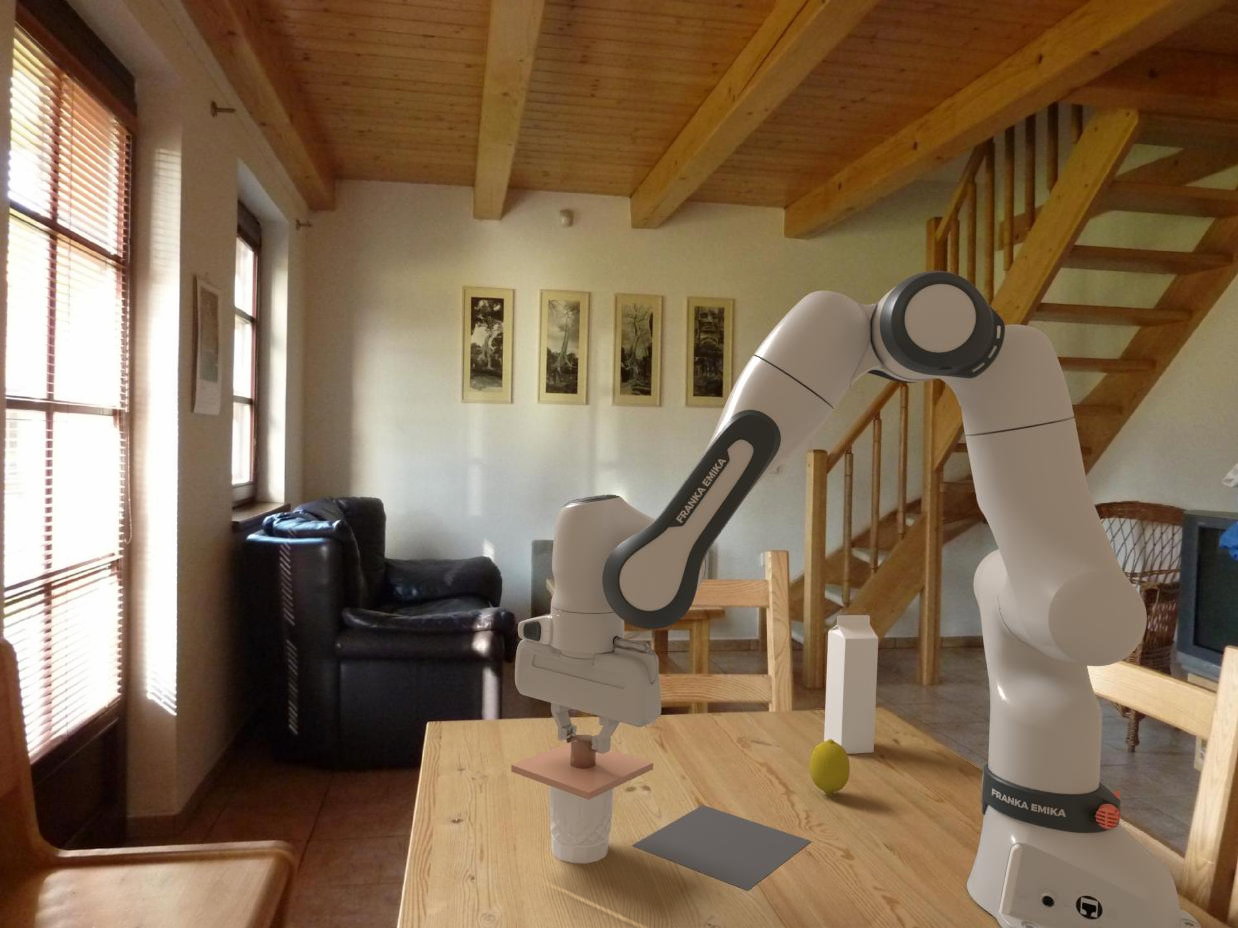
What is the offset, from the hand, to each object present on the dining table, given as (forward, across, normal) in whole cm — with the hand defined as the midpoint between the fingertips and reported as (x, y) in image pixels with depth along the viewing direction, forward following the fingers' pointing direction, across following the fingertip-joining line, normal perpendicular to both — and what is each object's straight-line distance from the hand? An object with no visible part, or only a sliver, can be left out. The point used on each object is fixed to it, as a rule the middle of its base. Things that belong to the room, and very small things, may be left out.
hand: (583, 745), depth 104 cm
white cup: (+13, 0, 0) cm, 13 cm away
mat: (+13, -12, -13) cm, 22 cm away
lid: (+3, 0, 0) cm, 3 cm away
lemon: (+13, -15, -37) cm, 42 cm away
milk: (+13, -9, -58) cm, 60 cm away
